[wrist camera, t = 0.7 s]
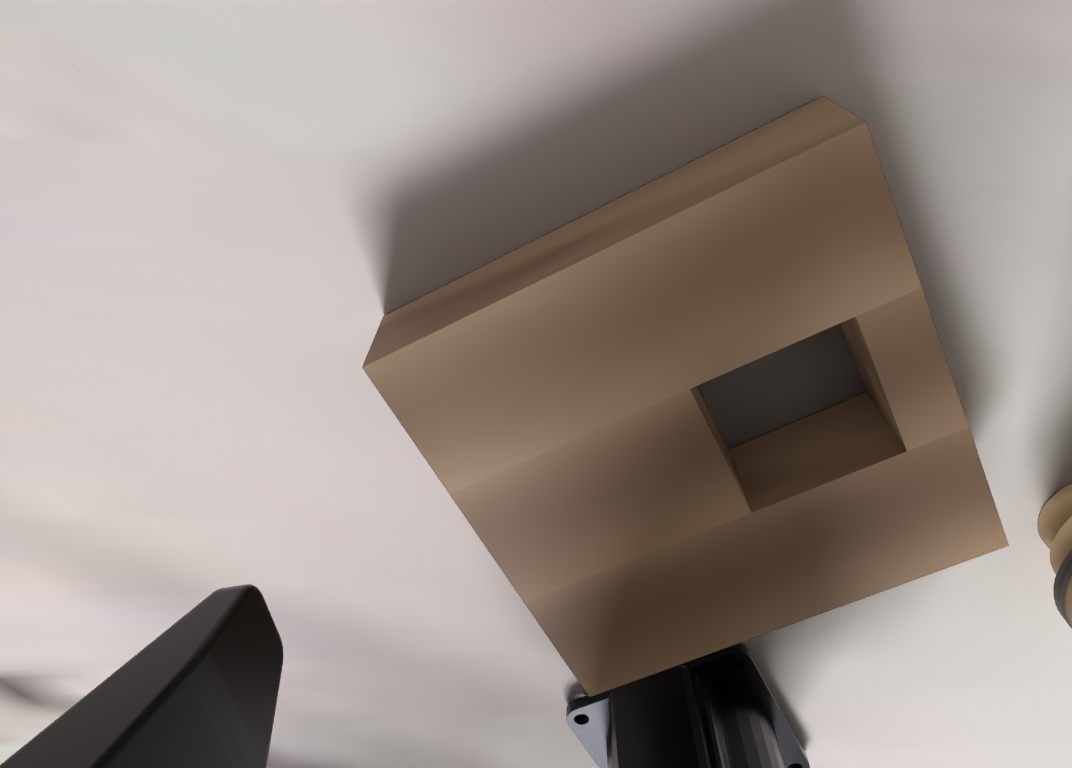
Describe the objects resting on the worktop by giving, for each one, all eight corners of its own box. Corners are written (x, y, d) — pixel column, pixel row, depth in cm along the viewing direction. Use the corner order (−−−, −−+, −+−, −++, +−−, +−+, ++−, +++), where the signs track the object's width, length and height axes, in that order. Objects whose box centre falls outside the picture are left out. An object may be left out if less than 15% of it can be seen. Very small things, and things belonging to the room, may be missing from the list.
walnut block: (959, 479, 25) (1009, 545, 22) (585, 623, 28) (589, 697, 25) (823, 95, 20) (866, 121, 17) (383, 316, 23) (362, 367, 20)
